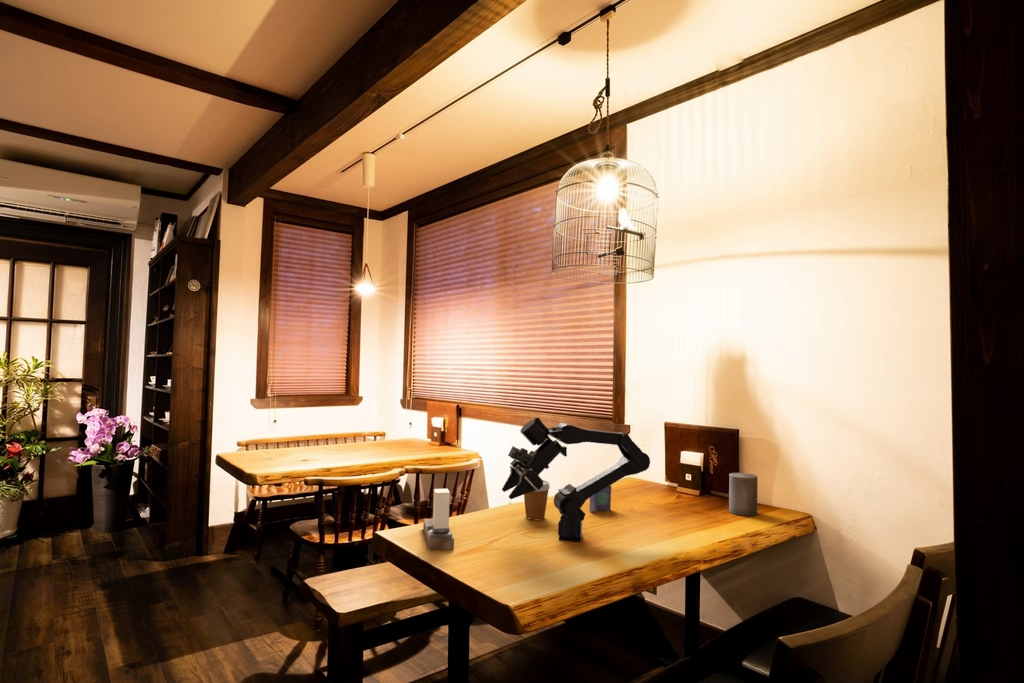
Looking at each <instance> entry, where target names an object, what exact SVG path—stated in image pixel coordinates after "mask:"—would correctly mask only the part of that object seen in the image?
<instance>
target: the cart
mask: <svg viewBox="0 0 1024 683" xmlns="http://www.w3.org/2000/svg"><path fill="white" fill-rule="evenodd" d="M450 494H451V492H450V490H449V489H448V488H434V489H433V506H432V519H433V524H432V530H433V534H439V533H440V532H443V534H449V532H450V530H451V529H450V530H449V528H450V496H451V495H450Z"/></svg>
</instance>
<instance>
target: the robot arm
mask: <svg viewBox="0 0 1024 683" xmlns="http://www.w3.org/2000/svg"><path fill="white" fill-rule="evenodd" d="M519 431H520V434H521V435H523V436H524V437H525V438H526V440H527V441H528V442H529V443H530V444H531V445H532V446H536V445H537V449H535V450H531V451H529V452H528V450H527V449H525V448H524V447H521V448H517V447H516V446H514V445H512V447H511V449H510V451H509V453H508V455H507V456H508V457H509V458H511V459H513V460H512V461H511V462H510V466H509V469H510V471H509V472H510V474H509V476H508V478H507V480H506V481H505V483H504V485H503V487H502V488H501V491H503V492H504V493H505V492H507V491H509V490H511V489H512V488H513V490H512V491H511V492H510V493H509V495H508V498H509V500H513V499H516V498H519V497H521V496H524V494H526V493H529V492H532V491H536V489H535V487H536V488H537V489H538V490H539V489H540V488H541V487H542V486H543V478H541V476H540V474H541V473H542V472H543V471H544V470H545V469H546V470H548V469H549V468H550V466H549V465H550V464H551V463H552V462H553V461H554V460H555V459H556V458H557V457H558V456H559V455H560V454H561V455H562V456H563V457H567V456H568V455H567V454H568V451H567V449H568V447H567V446H562V445H561V443H563V444H565V445H574V444H576V445H577V444H581V443H593V444H604V445H613V446H617V448H618V450H619V452H620V453H621V454H622V455H621V457H620V458H619V460H618V461H617V462H616V463H615V464H614V465H612V466H610V467H609V468H607V469H605V470H604V471H602V472H600V473H599V474H597V475H595V476H594V477H592V478H590V479H588V480H586V481H585V482H583V483H582V484H580V485H578V486H573V485H572V484H570V483H569V484H566V485H565V486H564V487H562V488H560V489H558V490H557V493H555V494H554V498H553V504H554V505H553V506H555V508H556V509H557V510H558V512H559V515H561V516H560V519H559V520H558V523H557V524H558V525H557V529H558V530H557V534H558V535H557V536H558V540H560V539H562V540H563V541H571V542H581V541H582V538H583V537H584V534H583V521H584V520H585V517H586V513H585V512H584V511H583V509H581V508H582V507H583V505H584V504H585V503H586V501H587V500H589V499H590V497H591V496H593V495H595V494H597V493H598V492H600V491H602V490H603V489H605V488H607V487H608V486H610V485H611V486H612V485H613V484H615V483H616V482H618V481H620V480H621V479H623V478H625V477H627V476H633V475H637V474H640V473H642V472H644V471H645V472H646V471H647V470H648V469H649V468H650V465H651V458H650V457H649V455H648V454H647V453H646V452H643V451H642V449H641V448H640V447H639V446H638V445H637V444H636V443H635V441H633V440H632V438H631V437H630V435H629V434H627V433H625V432H622V431H617V432H616V431H607V430H597V429H590V428H589V429H587V428H582V427H579V426H576V425H573V424H569V423H567V422H560V423H558V424H557V425H555V426H553V427H547V426H546V424H544V423H543V421H542V420H541V419H540V418H539V417H538V416H535V417H534V418H533V419H531V420H529V421H528V422H526V423H525V424H524V425H523V426H522V427H521V428H520V430H519ZM551 437H552V438H554V440H553V439H552V438H551ZM560 442H561V443H560ZM562 540H561V541H562Z"/></svg>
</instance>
